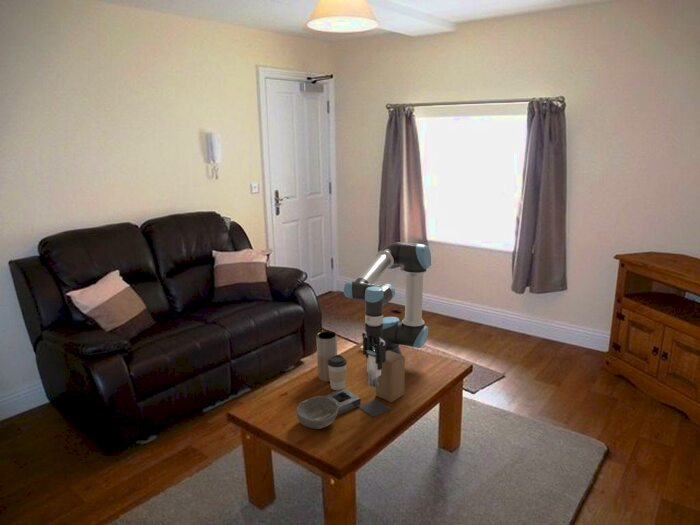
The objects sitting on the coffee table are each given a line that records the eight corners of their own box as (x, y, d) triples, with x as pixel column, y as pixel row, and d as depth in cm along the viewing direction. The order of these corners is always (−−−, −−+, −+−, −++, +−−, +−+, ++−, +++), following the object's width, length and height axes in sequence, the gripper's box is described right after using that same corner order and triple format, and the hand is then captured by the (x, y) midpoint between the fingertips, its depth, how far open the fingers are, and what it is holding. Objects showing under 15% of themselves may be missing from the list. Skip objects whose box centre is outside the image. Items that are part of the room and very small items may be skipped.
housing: (344, 394, 231) (344, 387, 230) (360, 405, 222) (360, 398, 221) (323, 403, 224) (323, 396, 223) (339, 414, 215) (338, 407, 214)
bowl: (304, 440, 198) (303, 423, 195) (291, 418, 213) (290, 401, 211) (345, 429, 204) (345, 412, 202) (330, 408, 220) (329, 392, 218)
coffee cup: (344, 392, 234) (344, 363, 230) (326, 390, 235) (325, 361, 231) (348, 382, 242) (348, 354, 238) (330, 381, 244) (330, 353, 240)
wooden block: (374, 395, 230) (374, 356, 225) (388, 387, 237) (388, 349, 232) (391, 403, 223) (392, 363, 218) (405, 394, 230) (405, 355, 225)
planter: (341, 377, 247) (340, 335, 241) (324, 383, 242) (323, 340, 236) (331, 370, 255) (329, 329, 249) (314, 375, 250) (312, 333, 244)
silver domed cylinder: (374, 379, 220) (374, 346, 216) (383, 384, 216) (383, 350, 211) (364, 383, 217) (364, 349, 212) (373, 389, 212) (373, 354, 208)
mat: (375, 400, 226) (375, 399, 226) (390, 409, 219) (390, 408, 218) (358, 407, 220) (358, 406, 220) (373, 417, 213) (373, 416, 212)
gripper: (354, 319, 213) (354, 368, 219) (381, 331, 200) (381, 383, 206) (367, 315, 218) (367, 363, 224) (395, 327, 204) (394, 378, 210)
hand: (374, 373), depth 215 cm, fingers closed on silver domed cylinder, 5 cm apart
